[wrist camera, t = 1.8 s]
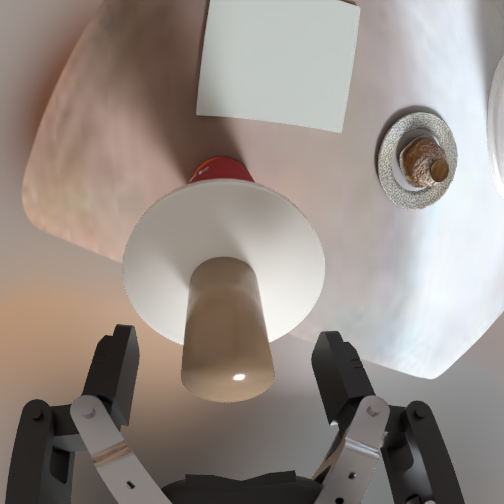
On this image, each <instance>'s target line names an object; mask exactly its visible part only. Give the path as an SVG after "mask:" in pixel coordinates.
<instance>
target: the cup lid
mask: <svg viewBox="0 0 504 504" xmlns="http://www.w3.org/2000/svg"><path fill="white" fill-rule="evenodd" d="M122 274H123V282H124V286H125V290H126V293H127V296H128V298H129V300H130V302H131V304H132V305H133V307H134V309H135V310H136V312H137V313H138V314H139V316H140V317H141V318H142V319H143V320H144V321H145V322H146V323H147V324H148V325H149V326H150V327H152V328H153V329H154V330H155V331H156V332H158V333H159V334H161V335H163V336H164V337H166V338H168V339H170V340H172V341H174V342H176V343H178V344H181V345H183V357H182V370H181V380H182V383H183V385H184V386H185V387H186V389H187V390H188V391H190V392H191V393H192V394H194V395H196V396H198V397H200V398H203V399H206V400H210V401H216V402H237V401H243V400H247V399H250V398H253V397H255V396H258V395H260V394H261V393H263V392H264V391H266V390H267V389H268V388H269V387H270V386H271V384H272V383H273V380H274V377H275V373H274V367H273V361H272V356H271V351H270V346H269V342H272V341H273V340H276V339H277V338H279V337H281V336H283V335H284V334H286V333H288V332H289V331H291V330H292V329H293V328H294V327H295V326H297V325H298V324H299V323H300V322H301V321H302V320H303V319H304V318H305V317H306V316H307V315H308V313H309V312H310V311H311V309H312V308H313V306H314V305H315V303H316V301H317V299H318V297H319V295H320V292H321V290H322V286H323V282H324V276H325V259H324V253H323V249H322V245H321V243H320V241H319V238H318V236H317V234H316V232H315V231H314V229H313V227H312V226H311V224H310V222H309V221H308V219H307V218H306V216H305V215H304V214H303V213H302V212H301V210H300V209H299V208H298V207H297V206H296V205H295V204H293V203H292V202H291V201H290V200H289V199H287V198H286V197H285V196H283V195H281V194H280V193H278V192H276V191H275V190H272V189H270V188H268V187H266V186H263V185H260V184H257V183H253V182H250V181H245V180H238V179H209V180H202V181H198V182H194V183H190V184H187V185H185V186H182V187H180V188H177V189H175V190H173V191H171V192H170V193H168V194H166V195H165V196H163V197H161V198H160V199H159V200H158V201H156V202H155V203H154V204H153V205H151V207H150V208H149V209H148V210H147V211H146V212H145V213H144V214H143V215H142V217H141V218H140V220H139V221H138V223H137V224H136V226H135V228H134V230H133V232H132V234H131V236H130V238H129V240H128V242H127V245H126V248H125V252H124V255H123V263H122Z"/></svg>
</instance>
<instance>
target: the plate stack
mask: <svg viewBox="0 0 504 504" xmlns="http://www.w3.org/2000/svg"><path fill="white" fill-rule="evenodd" d="M487 146H488V156H489V163H490V168H491V173H492V176H493V180H494V183H495V185H496V188H497V190H498V192H499V193H500V195H501V197H502V198H503V199H504V55H503V56H502V58H501V59H500V61H499V63H498V65H497V68H496V70H495V73H494V76H493V80H492V84H491V89H490V94H489V101H488V112H487Z"/></svg>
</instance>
